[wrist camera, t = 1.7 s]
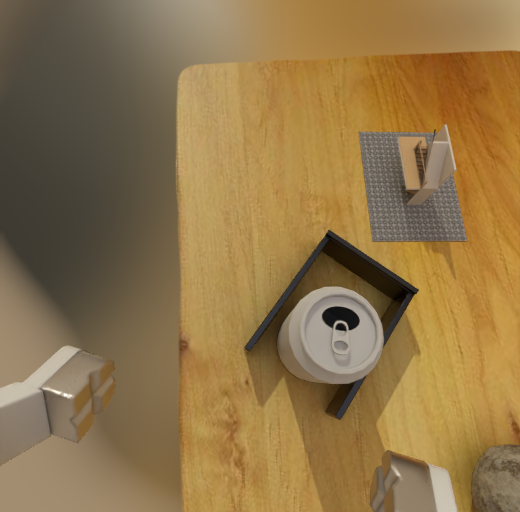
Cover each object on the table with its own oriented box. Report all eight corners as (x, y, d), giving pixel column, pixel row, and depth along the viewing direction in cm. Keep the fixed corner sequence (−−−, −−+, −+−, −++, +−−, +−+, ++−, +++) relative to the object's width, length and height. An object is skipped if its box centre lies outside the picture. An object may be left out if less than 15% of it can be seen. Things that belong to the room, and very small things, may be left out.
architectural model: (394, 204, 44) (424, 171, 37) (386, 154, 46) (413, 114, 39) (422, 204, 44) (457, 172, 37) (413, 155, 46) (444, 115, 39)
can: (349, 313, 39) (394, 288, 28) (344, 387, 37) (391, 392, 25) (280, 303, 39) (297, 274, 28) (271, 376, 37) (285, 376, 25)
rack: (330, 415, 36) (342, 421, 32) (243, 350, 37) (244, 347, 33) (400, 298, 40) (419, 289, 36) (320, 244, 42) (329, 229, 37)
